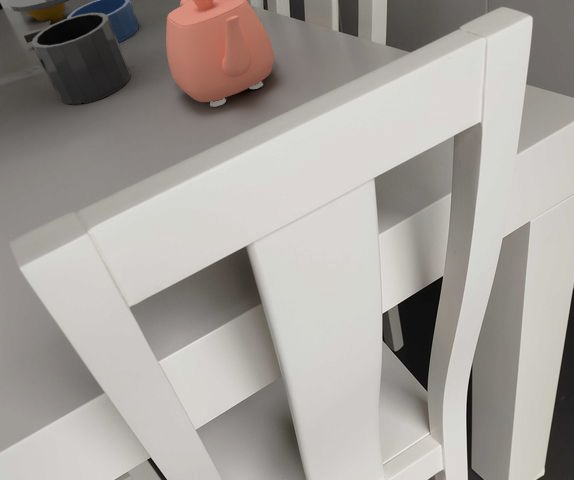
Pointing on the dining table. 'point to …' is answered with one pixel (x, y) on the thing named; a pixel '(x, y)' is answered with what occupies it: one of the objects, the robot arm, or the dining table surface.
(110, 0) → the pan
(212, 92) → the teapot
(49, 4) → the lid
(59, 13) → the apple
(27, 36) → the pan handle
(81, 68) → the pot
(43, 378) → the dining table surface
